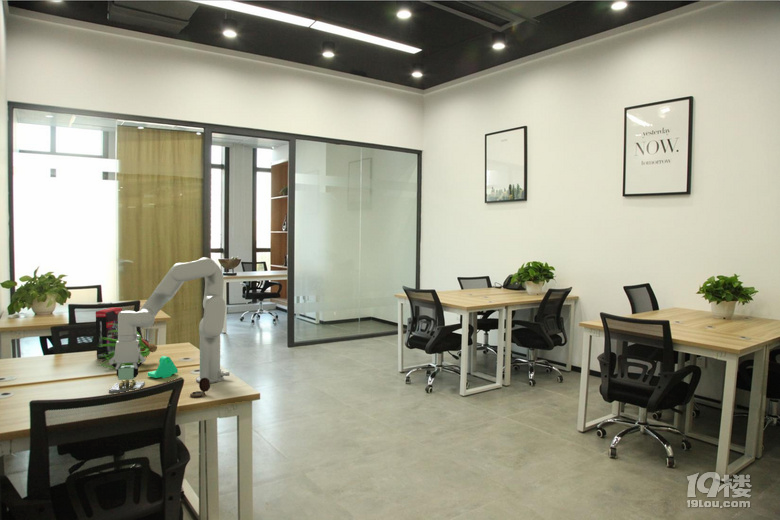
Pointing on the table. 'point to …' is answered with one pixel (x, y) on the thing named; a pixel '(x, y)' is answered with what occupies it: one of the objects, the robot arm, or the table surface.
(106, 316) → the graphics card box
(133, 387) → the chassis
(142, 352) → the decorative plant
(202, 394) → the compass
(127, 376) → the pale green block
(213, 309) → the robot arm
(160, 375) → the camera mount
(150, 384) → the table surface
